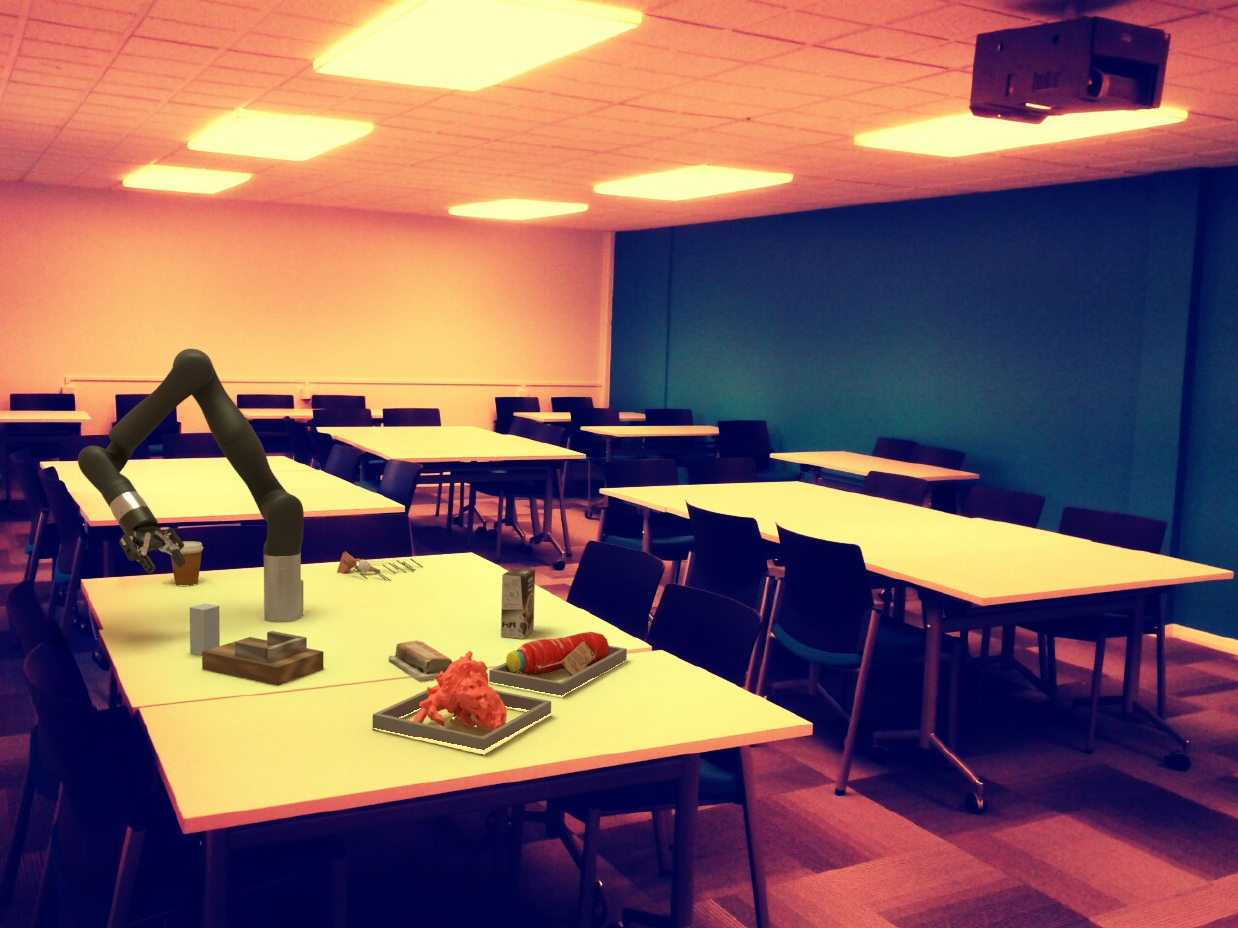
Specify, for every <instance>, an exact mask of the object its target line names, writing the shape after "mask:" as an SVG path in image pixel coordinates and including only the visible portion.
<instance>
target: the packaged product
mask: <svg viewBox="0 0 1238 928" xmlns="http://www.w3.org/2000/svg"><path fill="white" fill-rule="evenodd" d="M388 662H389V663H390V664H393V665H394V666H395V667H396V668H398V669H400V670H401V671H402V672H403V673H404V674H407V675H408V676H410V677H411V678H413V679H414V678H415V679H414V680H416V681H418V682H419V681H424V682H429V680H430V681H434V680H433V679H436V674H437V673H438V675H439V678H442V677H443V676H441V675H440V672H441V671H443V674H444V673H445V672H446V670H447V668H448V667H449V665H450V664H451V663H453V662H454V661H453V660H452V659H451V658H450V657H448V656H446V655H445V654H443V653H442V652H440V651H438V650H437V649H435V648H434V647H432V646H430V645H428V644H427V643H425V642H424V641H421V640H411V641H405V642H399V643H397V644H396V647H395V655H389V656H388Z"/></svg>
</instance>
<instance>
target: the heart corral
mask: <svg viewBox="0 0 1238 928" xmlns="http://www.w3.org/2000/svg"><path fill="white" fill-rule="evenodd" d="M437 685H438V684H437ZM437 685H435V686H433V687H432V688H436V687H437ZM494 690H495V691H496V693H497V694H499V696H500V698H501V700H502V701H503V703H504V705H505V706H507V707H512V708H521V709H526V710H529V711H527V712H523V713H522V714H520V715H518V716H516V717H515V718H514V719H511V720H509V721H506V724H504V725H502V726H500V727H499V728H497V729H495V730H493V731H491V732H490V731H489V732H488V733H486V734H485V735H483V736H481V735H476V734H473V733H467V732H464V731H460V730H459V731H458V730H454V729H450V728H446V727H443V726H442V727H441V726H438V725H433V724H427V723H424V722H423V723H419V722H415V721H413V720H410V719H405V718H399V717H401V716H404V715H406V714H409V713H411V712H413V711H414V710H417V709H419V708H421V707H420V706H419V704H420V702H421V701H424V700H426V699H428V697H429V696H430V695H427V693H428V692H429V691H427V689H426V690H423V691H421V692H419V693H417V694H414V695H412V696H410V697H407V698H406V699H403V700H401V701H399V702H397V703H395V704H392V705H389V706H388V707H386V708H383V709H382V710H379V711H377V712H374V713H373V714H372V729H373V728H377V729H381V730H386V731H390V732H395V733H400V734H404V735H408V736H413V737H422V738H428V739H433V740H437V741H442V742H447V743H451V744H457V745H462V746H467V747H471V748H476V749H482V750H485V749H486V748H488V747H490V746H491V745H493V744H495V743H497V742H498V741H500V740H502V739H504V738H505V737H509V736H510V735H512V734H514V733H515V732H517V731H519V730H520V729H522V728H524V727H526V726H528V725H530V724H532V723H533V722H535V721H538V720H539V719H541V718H543V717H544V716H547V715H548V714H550V713H551V714H552V701H550V700H548V699H546V700H545V699H542V698H536V697H531V696H528V695H527V696H526V695H522V694H517V693H512V692H508V691H507V692H506V691H501V690H497V689H494Z"/></svg>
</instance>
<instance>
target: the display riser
mask: <svg viewBox="0 0 1238 928" xmlns="http://www.w3.org/2000/svg"><path fill="white" fill-rule="evenodd" d="M307 641H308V638H307V637H306V636H300V635H295V634H290V633H285V632H279V631H275V630H271V631H268V632H266V639H264V638H258V637H253V636H249V637H245V638H242V639H239V640H235V641H232V642H229V643H226V644H222V645H220V646H218V647H215V648H212V649H209V650H205V651H202V656H201V668H202V670H204V671H210V672H214V673H217V674H223V675H226V676H230V677H231V676H232V677H235V678H241V679H244V678H246V679H245V680H249V679H250V680H249V681H253V680H254V682H258V681H259V682H260V683H263V684H268V685H273V686H276V687H279V686H281V685H283V684H286V683H289V682H292V681H295V680H297V679H299V678H302V677H306V676H308V675H310V674H314V673H315V672H319V671H322V670H323V669H324V651H323V650H318V649H313V648H308V647H307ZM296 678H297V679H296ZM294 679H295V680H294Z"/></svg>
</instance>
